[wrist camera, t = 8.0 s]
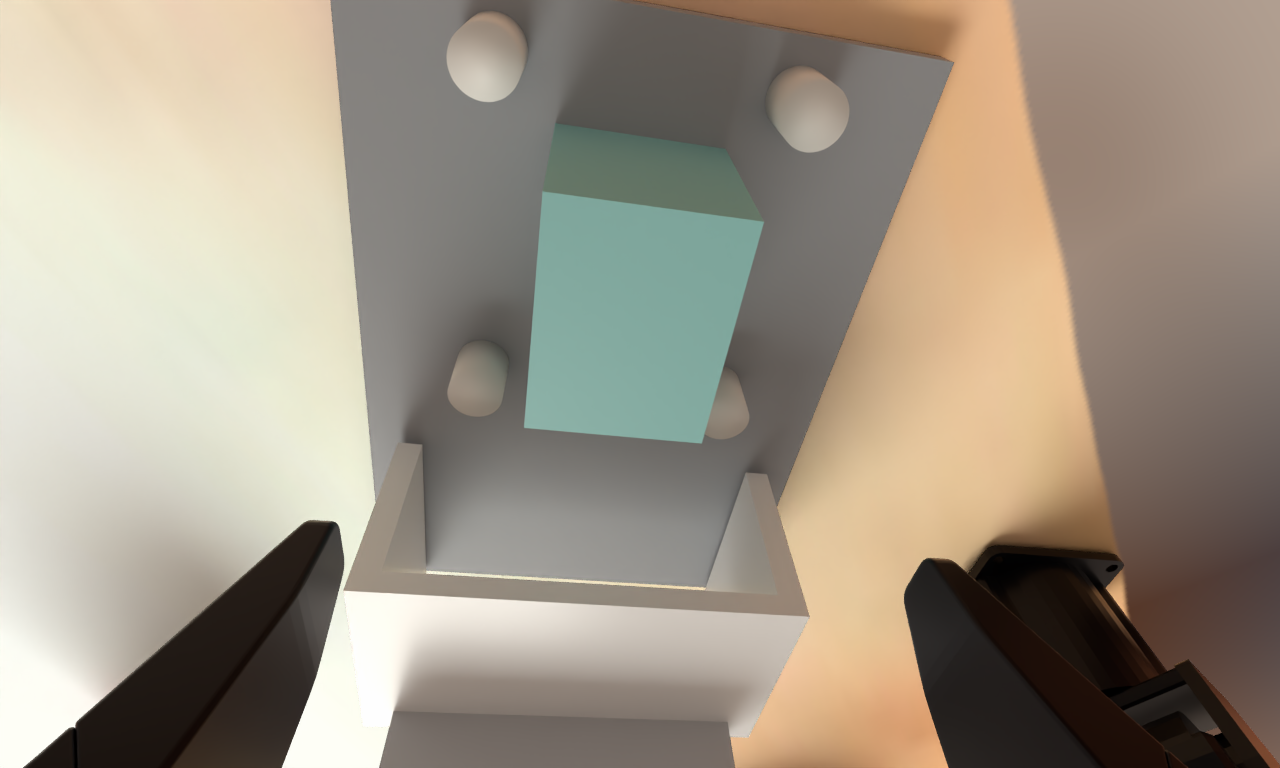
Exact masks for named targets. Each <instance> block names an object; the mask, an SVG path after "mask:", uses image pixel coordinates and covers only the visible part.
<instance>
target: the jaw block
mask: <svg viewBox="0 0 1280 768" xmlns="http://www.w3.org/2000/svg"><path fill="white" fill-rule="evenodd" d="M763 224H764V221H763V219H762V217H761V215H760V213H759V211H758V209H757V207H756V206H755V204H754V202H753V200H752V198H751V196H750V194H749V192H748V190H747V189H746V187H745V185H744V183H743V181H742V179H741V177H740V175H739V173H738V172H737V170H736V168H735V166H734V164H733V162H732V160H731V158H730V156H729V155H728V153H727V151H726V149H723V148H716V147H710V146H703V145H696V144H690V143H683V142H677V141H670V140H663V139H657V138H650V137H644V136H637V135H630V134H624V133H617V132H611V131H604V130H597V129H591V128H584V127H578V126H571V125H564V124H558V123H555V127H554V132H553V138H552V143H551V148H550V154H549V159H548V165H547V170H546V175H545V181H544V186H543V192H542V205H541V217H540V230H539V243H538V256H537V268H536V281H535V294H534V307H533V320H532V332H531V345H530V358H529V371H528V383H527V396H526V409H525V422H524V428H531V429H543V430H554V431H565V432H576V433H588V434H599V435H610V436H621V437H633V438H644V439H655V440H667V441H678V442H689V443H700V444H702V441H703V437H704V434H705V430H706V427H707V423H708V420H709V416H710V413H711V409H712V405H713V402H714V398H715V395H716V391H717V388H718V384H719V381H720V377H721V373H722V370H723V366H724V363H725V359H726V356H727V352H728V349H729V345H730V341H731V338H732V334H733V331H734V327H735V324H736V320H737V317H738V313H739V309H740V306H741V302H742V299H743V295H744V292H745V288H746V285H747V281H748V277H749V274H750V270H751V267H752V263H753V260H754V256H755V253H756V249H757V245H758V242H759V238H760V235H761V231H762V228H763Z"/></svg>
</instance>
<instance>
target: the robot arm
mask: <svg viewBox="0 0 1280 768" xmlns="http://www.w3.org/2000/svg"><path fill="white" fill-rule="evenodd" d="M1123 566H1124V564H1123V562H1122V561H1121V560H1120V559H1119V557H1118V556H1117V555H1115V554H1108V553H1095V552H1081V551H1068V550H1054V549H1041V548H1028V547H1014V546H1001V545H999V546H993V547H990V548H988V549H987V550H986V551H985V552H984V553H983V554H982V556H981V557H980V559H979V560H978V562H977V563H976V564H975V566H974V567H973V569H972V570H971V572H970V573H969V574H968V573H967V572H965V571H964V570H963V569H962V568H961V567H960V566H959V565H958V564H956V563H955V562H953V561H952V560H949V559H939V558H927V559H925V560H923V561H922V563H921V564H920V566H919V567H918V569H917V571H916V572H915V574H914V576H913V577H912V579H911V581H910V582H909V584H908V586H907V587H906V590H905V594H904V604H905V609H906V614H907V618H908V623H909V627H910V632H911V636H912V641H913V645H914V650H915V654H916V659H917V663H918V668H919V672H920V677H921V681H922V685H923V689H924V693H925V697H926V700H927V703H928V707H929V710H930V713H931V716H932V719H933V722H934V725H935V728H936V731H937V734H938V737H939V740H940V743H941V746H942V749H943V752H944V755H945V758H946V761H947V765H948V768H1280V765H1279V763H1278V762H1277V760H1276V759H1275V758H1274V757H1273V755H1272V754H1271V753H1270V752H1269V750H1268V749H1267V748H1266V747H1265V746H1264V744H1263V743H1262V742H1261V740H1260V739H1259V738H1258V737H1257V736H1256V734H1255V733H1254V732H1253V731H1252V729H1251V728H1250V727H1249V726H1248V725H1247V723H1246V722H1245V721H1244V720H1243V718H1242V717H1241V716H1240V715H1239V713H1238V712H1237V711H1236V710H1235V708H1234V707H1233V706H1232V705H1231V704H1230V703H1229V701H1228V700H1227V699H1226V698H1225V697H1224V696H1223V695H1222V694H1221V693H1220V692H1219V691H1218V690H1217V689H1216V688H1215V686H1214V685H1213V684H1211V682H1209V680H1208V679H1207V678H1206V677H1205V676H1204V675H1203V674H1202V673H1201V672H1200V671H1199V670H1198V669H1197V668H1196V667H1195V666H1194V664H1192V662H1191V661H1190V660H1189V659H1187V660H1185V661H1183V662H1180V663H1178V664H1176V665H1174V666H1175V668H1174V669H1172V670H1169V671H1167V670H1166V669H1165V667H1164V666H1163V665H1162V663H1161V662H1160V661H1159V659H1158V658H1157V657H1156V655H1155V654H1154V653H1153V651H1152V650H1151V649H1150V647H1149V646H1148V645H1147V643H1146V642H1145V641H1144V639H1143V638H1142V637H1141V635H1140V634H1139V633H1138V631H1137V630H1136V628H1135V627H1134V626H1133V624H1132V623H1131V622H1130V620H1129V619H1128V618H1127V616H1126V615H1125V614H1124V612H1123V611H1122V610H1121V608H1120V607H1119V606H1118V604H1117V603H1116V602H1115V600H1114V599H1113V598H1112V596H1111V595H1110V594H1109V592H1108V591H1107V590H1106V586H1107V585H1108V584H1109V583H1110V582H1111V581H1112V580H1113V579H1114V577H1115V576H1116V575H1117V574H1118V573H1119V572H1120V571H1121V570H1122V568H1123ZM343 571H344V554H343V548H342V541H341V535H340V529H339V526H338V524H337V523H336V522H333V521H318V520H309V521H306V522H304V523H303V524H302V525H300V526H299V527H298V528H297V529H296V530H295V531H293V532H292V533H291V534H290V535H289V536H288V537H287V538H286V539H284V540H283V541H282V542H281V543H280V544H279V545H278V546H276V547H275V548H274V549H273V550H272V551H271V552H270V553H268V554H267V555H266V556H265V557H264V558H263V559H262V560H260V561H259V562H258V563H257V564H256V565H255V566H254V567H252V568H251V569H250V570H249V571H248V572H247V573H246V574H244V575H243V576H242V577H241V578H240V579H239V580H238V581H236V582H235V583H234V584H233V585H232V586H231V587H230V588H228V589H227V590H226V591H225V592H224V593H223V594H222V595H220V596H219V597H218V598H217V599H216V600H215V601H214V602H212V603H211V604H210V605H209V606H208V607H207V608H206V609H205V610H203V611H202V612H201V613H200V614H199V615H198V616H197V617H195V618H194V619H193V620H192V621H191V622H190V623H189V624H187V625H186V626H185V627H184V628H183V629H182V630H181V631H179V632H178V633H177V634H176V635H175V636H174V637H173V638H171V639H170V640H169V641H168V642H167V643H166V644H165V645H163V646H162V647H161V648H160V649H159V650H158V651H157V652H155V653H154V654H153V655H152V656H151V657H150V658H149V659H147V660H146V661H145V662H144V663H143V664H142V665H141V666H139V667H138V668H137V669H136V670H135V671H134V672H133V673H131V674H130V675H129V676H128V677H127V678H126V679H125V680H123V681H122V682H121V683H120V684H119V685H118V686H117V687H116V688H114V689H113V690H112V691H111V692H110V693H109V694H108V695H106V696H105V697H104V698H103V699H102V700H101V701H100V702H98V703H97V704H96V705H95V706H94V707H93V708H92V709H90V710H89V711H88V712H87V713H86V714H85V715H84V716H82V717H81V718H80V719H79V720H78V721H77V722H76V725H75V728H74V727H71V728H68V729H67V730H66V731H65V732H64V733H63V734H62V735H60V736H59V737H58V738H57V739H56V740H55V741H54V742H52V743H51V744H50V745H49V746H48V747H47V748H46V749H44V750H43V751H42V752H41V753H40V754H39V755H38V756H36V757H35V758H34V759H33V760H32V761H30V762H29V763H28V764H27V765H26V766H24V767H23V768H282V765H283V763H284V760H285V758H286V755H287V752H288V750H289V747H290V745H291V742H292V739H293V737H294V734H295V732H296V729H297V726H298V724H299V721H300V719H301V716H302V713H303V711H304V708H305V706H306V703H307V700H308V698H309V695H310V692H311V690H312V687H313V684H314V681H315V678H316V675H317V672H318V668H319V664H320V661H321V657H322V653H323V649H324V645H325V642H326V638H327V634H328V630H329V626H330V622H331V618H332V615H333V611H334V607H335V603H336V599H337V595H338V591H339V587H340V584H341V580H342V576H343ZM1217 727H1219V729H1220V730H1221V732H1222V733H1220V734H1218V735H1215V736H1213V735H1211V734H1208V733H1205V732H1206V731H1209V730H1212V729H1214V728H1217Z"/></svg>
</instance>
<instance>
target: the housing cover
mask: <svg viewBox="0 0 1280 768" xmlns="http://www.w3.org/2000/svg"><path fill="white" fill-rule="evenodd" d="M343 592H344V599H345V606H346V613H347V619H348V626H349V633H350V640H351V647H352V654H353V661H354V668H355V675H356V682H357V689H358V696H359V702H360V709H361V716H362V723H363V726H369V727H389V731H388V735H387V739H386V743H385V747H384V751H383V755H382V759H381V763H380V767H379V768H735V764H734V758H733V752H732V746H731V740H730V737H749V735H750V733H751V731H752V729H753V727H754V725H755V724H756V722H757V720H758V718H759V716H760V714H761V712H762V710H763V708H764V706H765V704H766V702H767V700H768V698H769V696H770V694H771V692H772V690H773V688H774V686H775V684H776V682H777V680H778V678H779V676H780V674H781V672H782V670H783V668H784V666H785V664H786V662H787V660H788V658H789V657H790V655H791V653H792V651H793V649H794V647H795V645H796V643H797V641H798V639H799V637H800V635H801V633H802V631H803V629H804V627H805V625H806V623H807V621H808V619H809V617H810V616H809V613H808V610H807V606H806V603H805V600H804V596H803V593H802V590H801V586H800V583H799V580H798V576H797V573H796V570H795V566H794V563H793V560H792V556H791V553H790V550H789V546H788V543H787V540H786V536H785V533H784V530H783V526H782V523H781V520H780V516H779V513H778V510H777V506H776V503H775V500H774V496H773V493H772V490H771V486H770V483H769V480H768V476H767V474H759V473H747V472H746V473H745V476H744V479H743V482H742V485H741V488H740V491H739V493H738V496H737V499H736V502H735V505H734V508H733V511H732V514H731V516H730V519H729V522H728V525H727V528H726V531H725V534H724V537H723V540H722V542H721V545H720V548H719V551H718V554H717V557H716V560H715V563H714V565H713V568H712V571H711V574H710V577H709V580H708V583H707V586H706V589H705V591H702V590H686V589H669V588H653V587H636V586H619V585H603V584H586V583H569V582H553V581H536V580H519V579H503V578H486V577H470V576H453V575H436V574H426V548H425V515H424V483H423V451H422V444H410V443H399V442H398V444H397V446H396V449H395V452H394V454H393V457H392V460H391V463H390V465H389V468H388V471H387V473H386V476H385V479H384V482H383V484H382V487H381V490H380V492H379V495H378V498H377V501H376V503H375V506H374V509H373V512H372V514H371V517H370V520H369V522H368V525H367V528H366V531H365V533H364V536H363V539H362V541H361V544H360V547H359V550H358V552H357V555H356V558H355V560H354V563H353V566H352V569H351V571H350V574H349V577H348V580H347V582H346V585H345V588H344V590H343Z"/></svg>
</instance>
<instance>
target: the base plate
mask: <svg viewBox="0 0 1280 768" xmlns="http://www.w3.org/2000/svg"><path fill="white" fill-rule="evenodd" d="M331 11H332V22H333V33H334V44H335V55H336V67H337V78H338V89H339V100H340V111H341V122H342V133H343V144H344V156H345V167H346V178H347V189H348V200H349V211H350V222H351V233H352V245H353V256H354V267H355V278H356V289H357V300H358V311H359V323H360V334H361V345H362V356H363V367H364V378H365V389H366V400H367V412H368V423H369V434H370V445H371V456H372V467H373V478H374V489H375V501H377V498H378V495H379V492H380V490H381V487H382V484H383V482H384V479H385V476H386V473H387V471H388V468H389V465H390V463H391V460H392V457H393V454H394V452H395V449H396V446H397V444H398V442H399V443H410V444H422V451H423V483H424V515H425V548H426V570H427V571H443V572H459V573H476V574H492V575H509V576H525V577H542V578H558V579H575V580H591V581H607V582H624V583H640V584H657V585H673V586H690V587H706V586H707V583H708V580H709V577H710V574H711V571H712V568H713V565H714V563H715V560H716V557H717V554H718V551H719V548H720V545H721V542H722V540H723V537H724V534H725V531H726V528H727V525H728V522H729V519H730V516H731V514H732V511H733V508H734V505H735V502H736V499H737V496H738V493H739V491H740V488H741V485H742V482H743V479H744V476H745V473H746V472H747V473H759V474H767V476H768V480H769V483H770V486H771V490H772V493H773V496H774V500H775V503H776V506H777V505H778V502H779V500H780V497H781V495H782V492H783V490H784V487H785V485H786V482H787V480H788V477H789V475H790V472H791V470H792V467H793V465H794V462H795V460H796V457H797V455H798V452H799V450H800V447H801V445H802V442H803V440H804V437H805V435H806V432H807V430H808V427H809V425H810V422H811V420H812V417H813V415H814V412H815V410H816V407H817V405H818V402H819V400H820V397H821V395H822V392H823V390H824V387H825V385H826V382H827V380H828V377H829V375H830V372H831V370H832V367H833V365H834V362H835V360H836V357H837V355H838V352H839V350H840V347H841V345H842V342H843V340H844V337H845V335H846V332H847V330H848V327H849V325H850V322H851V320H852V317H853V315H854V312H855V310H856V307H857V305H858V302H859V299H860V297H861V294H862V292H863V289H864V287H865V284H866V282H867V279H868V277H869V274H870V272H871V269H872V267H873V264H874V262H875V259H876V257H877V254H878V252H879V249H880V247H881V244H882V242H883V239H884V237H885V234H886V232H887V229H888V227H889V224H890V222H891V219H892V217H893V214H894V212H895V209H896V207H897V204H898V202H899V199H900V197H901V194H902V192H903V189H904V187H905V184H906V182H907V179H908V177H909V174H910V172H911V169H912V167H913V164H914V162H915V159H916V157H917V154H918V152H919V149H920V147H921V144H922V142H923V139H924V137H925V134H926V132H927V129H928V127H929V124H930V122H931V119H932V117H933V114H934V112H935V109H936V107H937V104H938V102H939V99H940V97H941V94H942V92H943V89H944V87H945V84H946V82H947V79H948V77H949V74H950V72H951V69H952V67H953V64H954V62H952V61H949V60H947V59H945V58H943V57H940V56H935V55H929V54H924V53H918V52H913V51H907V50H902V49H896V48H891V47H885V46H880V45H875V44H869V43H864V42H858V41H853V40H847V39H842V38H836V37H831V36H825V35H820V34H815V33H809V32H804V31H798V30H793V29H787V28H782V27H776V26H771V25H765V24H760V23H755V22H749V21H744V20H738V19H733V18H727V17H722V16H716V15H711V14H705V13H700V12H695V11H689V10H684V9H678V8H673V7H667V6H662V5H656V4H651V3H646V2H640V1H635V0H331ZM555 123H558V124H564V125H571V126H578V127H584V128H591V129H597V130H604V131H611V132H617V133H624V134H630V135H637V136H644V137H650V138H657V139H663V140H670V141H677V142H683V143H690V144H696V145H703V146H710V147H716V148H723V149H726V151H727V153H728V155H729V156H730V158H731V160H732V162H733V164H734V166H735V168H736V170H737V172H738V173H739V175H740V177H741V179H742V181H743V183H744V185H745V187H746V189H747V190H748V192H749V194H750V196H751V198H752V200H753V202H754V204H755V206H756V207H757V209H758V211H759V213H760V215H761V217H762V219H763V221H764V224H763V228H762V231H761V235H760V238H759V242H758V245H757V249H756V253H755V256H754V260H753V263H752V267H751V270H750V274H749V277H748V281H747V285H746V288H745V292H744V295H743V299H742V302H741V306H740V309H739V313H738V317H737V320H736V324H735V327H734V331H733V334H732V338H731V341H730V345H729V349H728V352H727V356H726V359H725V363H724V366H723V370H722V373H721V377H720V381H719V384H718V388H717V391H716V395H715V398H714V402H713V405H712V409H711V413H710V416H709V420H708V423H707V427H706V430H705V434H704V437H703V441H702V444H700V443H689V442H678V441H667V440H655V439H644V438H633V437H621V436H610V435H599V434H588V433H576V432H565V431H554V430H543V429H531V428H524V422H525V409H526V396H527V383H528V371H529V358H530V345H531V332H532V320H533V307H534V294H535V281H536V268H537V256H538V243H539V230H540V217H541V205H542V192H543V186H544V181H545V175H546V170H547V165H548V159H549V154H550V148H551V143H552V138H553V132H554V127H555Z"/></svg>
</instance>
